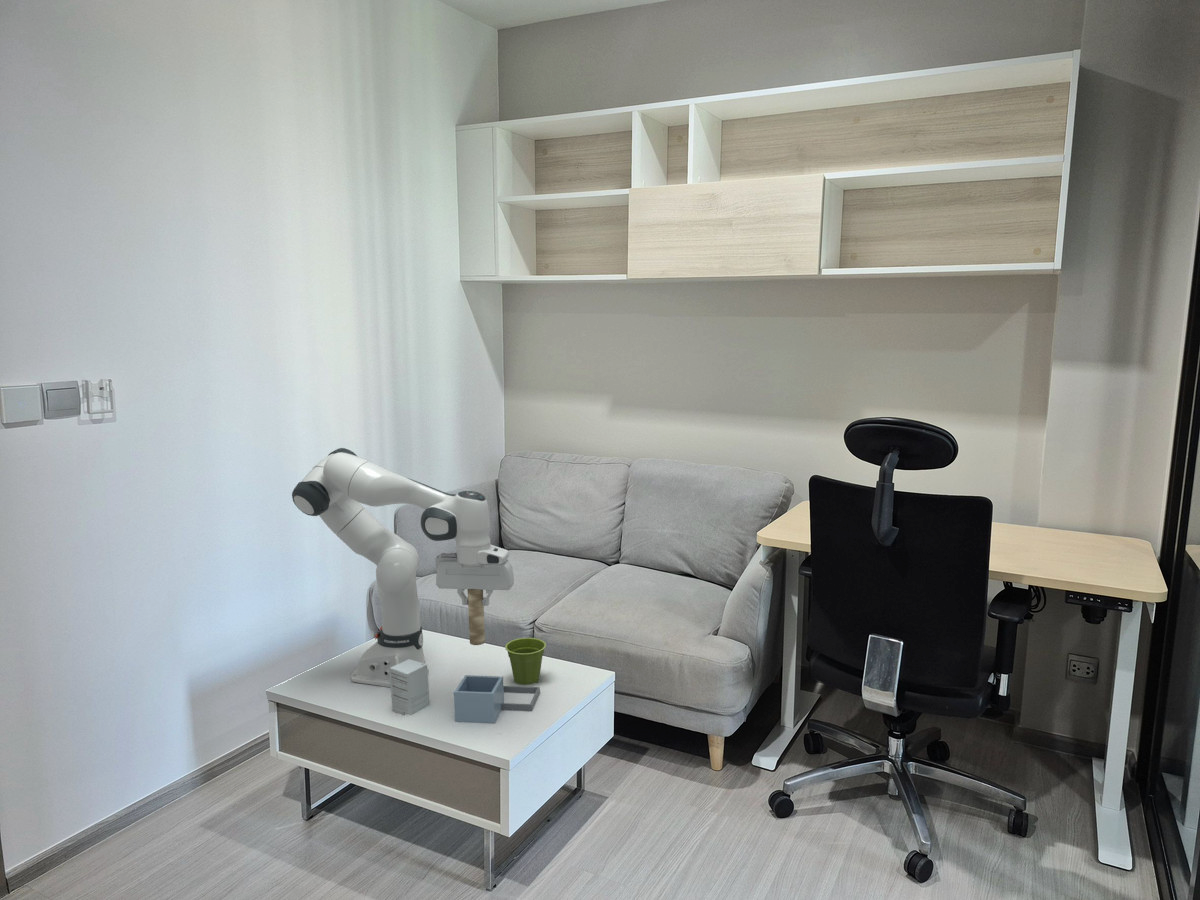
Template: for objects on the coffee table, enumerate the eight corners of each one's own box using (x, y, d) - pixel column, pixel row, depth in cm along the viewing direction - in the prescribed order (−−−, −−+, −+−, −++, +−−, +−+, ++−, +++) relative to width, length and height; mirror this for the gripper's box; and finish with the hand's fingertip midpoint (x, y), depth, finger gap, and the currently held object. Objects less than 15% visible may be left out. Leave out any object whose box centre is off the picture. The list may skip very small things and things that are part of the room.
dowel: (467, 645, 219) (465, 590, 217) (472, 639, 223) (469, 585, 221) (482, 645, 219) (480, 590, 216) (486, 639, 223) (484, 585, 220)
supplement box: (411, 701, 234) (409, 658, 232) (430, 707, 230) (428, 664, 228) (391, 711, 228) (388, 667, 226) (410, 718, 224) (407, 673, 222)
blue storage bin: (455, 724, 220) (453, 692, 218) (466, 706, 230) (465, 675, 229) (494, 726, 218) (493, 693, 217) (504, 707, 229) (503, 676, 227)
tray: (491, 712, 226) (490, 703, 226) (501, 693, 237) (500, 685, 237) (531, 713, 225) (531, 705, 224) (540, 695, 236) (539, 687, 235)
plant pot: (498, 686, 242) (497, 649, 241) (521, 670, 253) (519, 635, 251) (533, 694, 237) (531, 656, 235) (554, 678, 247) (553, 641, 245)
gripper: (431, 556, 215) (433, 607, 218) (508, 557, 213) (510, 609, 215) (438, 549, 222) (441, 599, 224) (514, 551, 219) (516, 601, 221)
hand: (475, 604), depth 219 cm, fingers closed on dowel, 4 cm apart
